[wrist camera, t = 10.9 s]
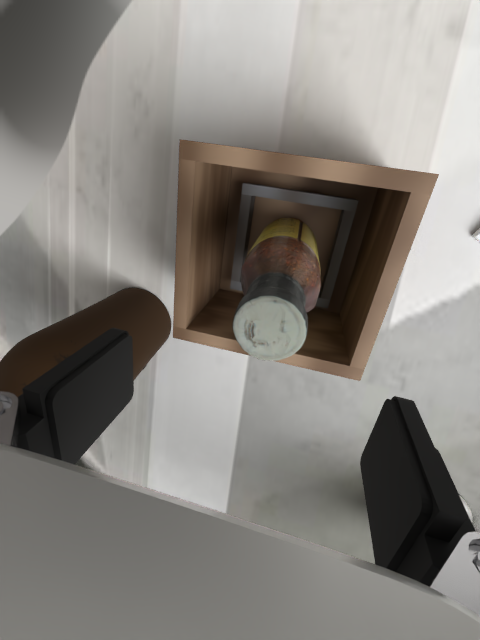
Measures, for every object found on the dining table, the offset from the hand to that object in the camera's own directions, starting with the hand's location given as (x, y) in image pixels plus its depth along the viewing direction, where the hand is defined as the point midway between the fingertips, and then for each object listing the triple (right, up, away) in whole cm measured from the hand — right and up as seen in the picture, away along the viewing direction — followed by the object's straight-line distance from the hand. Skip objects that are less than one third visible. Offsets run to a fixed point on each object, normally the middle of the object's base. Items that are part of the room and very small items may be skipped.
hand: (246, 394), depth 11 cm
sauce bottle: (+5, +11, +22) cm, 26 cm away
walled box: (+5, +11, +23) cm, 26 cm away
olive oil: (-14, +3, +32) cm, 35 cm away
